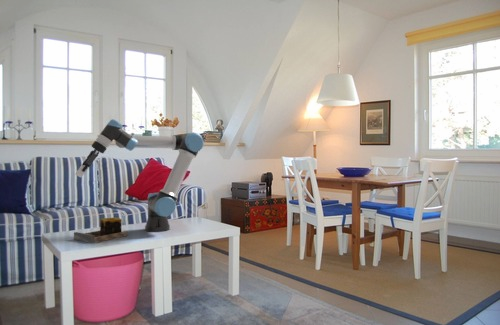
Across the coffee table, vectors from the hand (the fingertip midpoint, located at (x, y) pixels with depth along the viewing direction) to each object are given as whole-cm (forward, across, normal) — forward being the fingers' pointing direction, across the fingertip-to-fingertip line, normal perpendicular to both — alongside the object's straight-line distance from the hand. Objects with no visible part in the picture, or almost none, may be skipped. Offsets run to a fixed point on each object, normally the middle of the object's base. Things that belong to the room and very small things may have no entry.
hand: (77, 176), depth 215 cm
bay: (+22, -4, +30) cm, 38 cm away
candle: (+19, -7, +35) cm, 40 cm away
